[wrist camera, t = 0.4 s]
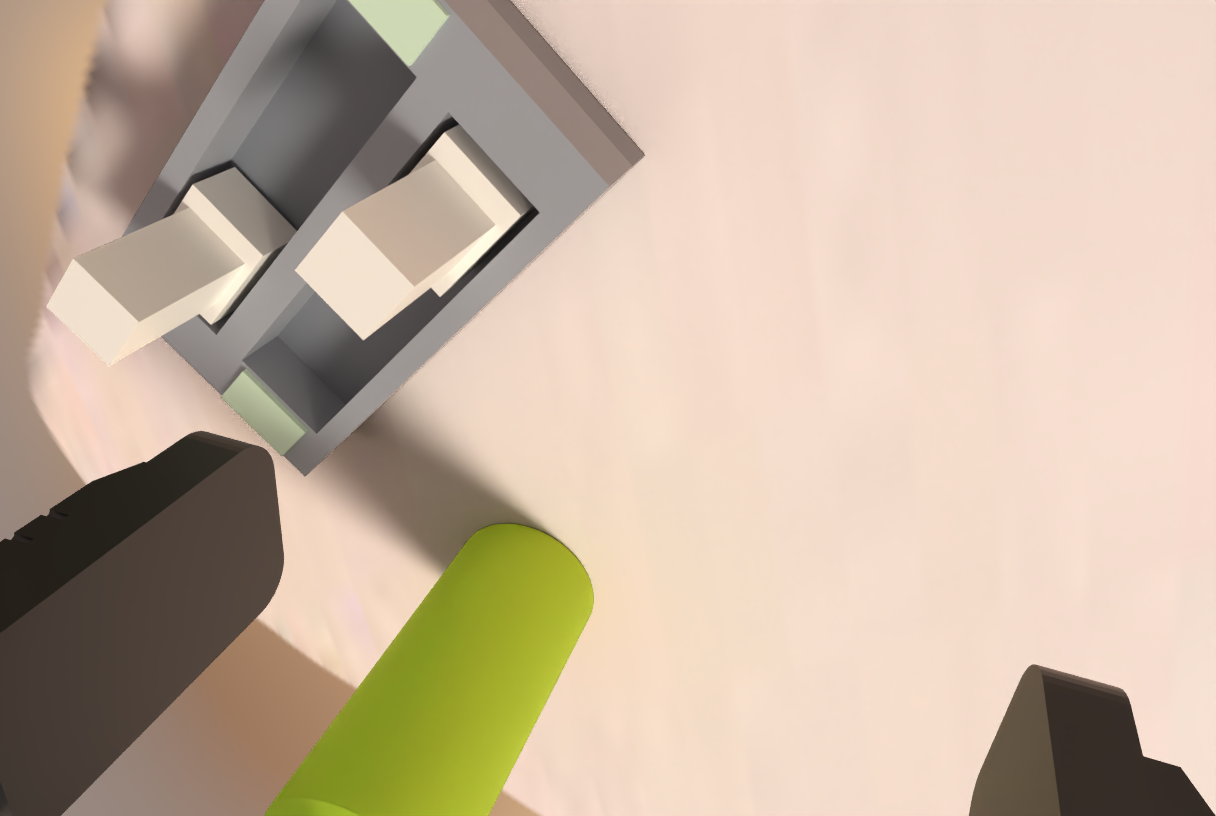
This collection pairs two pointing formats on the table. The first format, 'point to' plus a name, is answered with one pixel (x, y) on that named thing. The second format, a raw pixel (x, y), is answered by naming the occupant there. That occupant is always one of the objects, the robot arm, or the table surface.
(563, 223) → the switch bank
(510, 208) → the tab
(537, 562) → the soap dispenser
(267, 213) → the tab
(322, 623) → the table surface
